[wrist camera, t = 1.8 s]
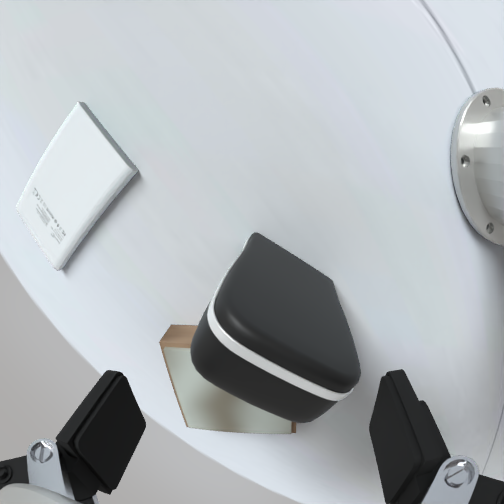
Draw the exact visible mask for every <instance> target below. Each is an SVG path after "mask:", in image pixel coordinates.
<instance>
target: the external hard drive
mask: <svg viewBox="0 0 504 504" xmlns="http://www.w3.org/2000/svg"><path fill="white" fill-rule="evenodd" d="M138 171H139V170H138V169H137V167H136V166H135V165H134V164H133V162H132V161H131V160H130V159H129V158H128V156H127V155H126V154H125V153H124V152H123V150H122V149H121V148H120V147H119V145H118V144H117V143H116V142H115V140H114V139H113V138H112V137H111V135H110V134H109V133H108V132H107V130H106V129H105V128H104V127H103V125H102V124H101V123H100V122H99V120H98V119H97V118H96V117H95V115H94V114H93V113H92V111H91V110H90V109H89V108H88V106H87V105H86V104H85V103H84V102H78V103H77V104H76V106H75V107H74V108H73V110H72V111H71V112H70V114H69V115H68V117H67V118H66V120H65V121H64V122H63V124H62V125H61V127H60V128H59V130H58V131H57V133H56V135H55V136H54V138H53V139H52V141H51V142H50V144H49V146H48V147H47V149H46V151H45V152H44V154H43V156H42V157H41V159H40V161H39V163H38V165H37V166H36V168H35V170H34V172H33V174H32V176H31V177H30V179H29V181H28V183H27V185H26V187H25V189H24V191H23V193H22V196H21V198H20V200H19V202H18V204H17V206H16V210H17V212H18V214H19V216H20V218H21V219H22V221H23V222H24V224H25V226H26V227H27V229H28V230H29V232H30V234H31V235H32V237H33V238H34V240H35V241H36V243H37V244H38V246H39V247H40V249H41V250H42V252H43V253H44V255H45V256H46V258H47V259H48V261H49V262H50V263H51V265H52V266H53V267H54V268H55V269H56V270H57V271H59V270H60V269H62V268H63V267H64V266H65V264H66V263H67V261H68V260H69V259H70V257H71V256H72V254H73V253H74V251H75V250H76V248H77V247H78V246H79V244H80V243H81V242H82V240H83V239H84V237H85V236H86V235H87V233H88V232H89V231H90V229H91V228H92V227H93V225H94V224H95V223H96V221H97V220H98V219H99V217H100V216H101V215H102V214H103V212H104V211H105V210H106V209H107V207H108V206H109V205H110V204H111V202H112V201H113V200H114V199H115V198H116V196H117V195H118V194H119V193H120V191H121V190H122V189H123V188H124V187H125V186H126V184H127V183H128V182H129V181H130V180H131V179H132V177H133V176H134V175H135V174H136V173H137V172H138Z"/></svg>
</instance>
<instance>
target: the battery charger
mask: <svg viewBox="0 0 504 504" xmlns="http://www.w3.org/2000/svg"><path fill="white" fill-rule="evenodd" d="M190 354H191V361H192V363H193V365H194V367H195V369H196V371H197V372H198V373H199V374H200V375H201V376H202V377H203V378H204V379H206V380H207V381H209V382H210V383H212V384H213V385H215V386H217V387H218V388H220V389H222V390H224V391H226V392H228V393H230V394H231V395H233V396H235V397H237V398H239V399H241V400H243V401H245V402H247V403H249V404H251V405H253V406H255V407H258V408H260V409H262V410H264V411H267V412H269V413H271V414H274V415H276V416H279V417H281V418H284V419H286V420H289V421H292V422H296V423H306V422H311V421H313V420H314V419H316V418H318V417H319V416H321V415H322V414H324V413H325V412H326V411H327V410H329V409H330V408H331V407H332V406H333V405H334V404H336V403H337V402H338V401H339V400H343V399H345V398H346V397H347V396H348V395H349V394H350V393H351V392H352V391H353V389H354V386H355V385H356V384H357V383H358V381H359V378H360V375H361V370H360V364H359V360H358V356H357V352H356V348H355V345H354V341H353V338H352V335H351V332H350V329H349V326H348V323H347V321H346V318H345V315H344V313H343V310H342V308H341V305H340V303H339V300H338V297H337V294H336V291H335V288H334V284H333V281H332V280H331V279H330V278H328V277H327V276H325V275H324V274H322V273H321V272H319V271H318V270H316V269H315V268H313V267H312V266H310V265H308V264H307V263H305V262H304V261H302V260H301V259H299V258H298V257H296V256H294V255H293V254H291V253H290V252H288V251H287V250H285V249H283V248H282V247H280V246H279V245H277V244H275V243H274V242H272V241H271V240H269V239H267V238H266V237H264V236H262V235H261V234H259V233H253V234H252V235H251V237H250V238H248V239H247V240H246V242H245V244H244V246H243V249H242V251H241V253H240V254H239V255H238V257H237V258H236V259H235V260H234V262H233V263H232V265H231V266H230V267H229V269H228V270H227V272H226V274H225V275H224V277H223V279H222V280H221V282H220V284H219V286H218V287H217V289H216V291H215V294H214V296H213V298H212V300H211V301H210V303H209V305H208V306H207V308H206V310H205V312H204V314H203V316H202V318H201V320H200V323H199V325H198V327H197V329H196V331H195V334H194V336H193V338H192V342H191V347H190Z"/></svg>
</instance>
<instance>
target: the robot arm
mask: <svg viewBox="0 0 504 504" xmlns="http://www.w3.org/2000/svg"><path fill="white" fill-rule="evenodd" d="M451 168H452V175H453V182H454V186H455V190H456V194H457V198H458V200H459V203H460V205H461V208H462V210H463V212H464V214H465V216H466V218H467V219H468V221H469V223H470V224H471V225H472V226H473V228H474V229H475V230H476V231H477V232H478V233H479V234H480V235H481V236H483V237H484V238H485V239H487V240H489V241H491V242H493V243H495V244H497V245H501V246H504V89H501V88H489V89H485V90H482V91H479V92H477V93H475V94H474V95H472V96H471V97H470V98H469V99H468V100H467V101H466V102H465V104H464V105H463V106H462V108H461V110H460V112H459V114H458V116H457V118H456V122H455V126H454V129H453V134H452V142H451ZM145 428H146V422H145V419H144V417H143V415H142V413H141V411H140V408H139V406H138V404H137V402H136V399H135V397H134V395H133V392H132V390H131V387H130V385H129V382H128V380H127V378H126V377H125V376H124V375H123V373H121V372H118V371H111V370H107V371H106V372H105V373H104V374H103V376H102V377H101V378H100V379H99V381H98V382H97V383H96V385H95V386H94V387H93V389H92V390H91V391H90V392H89V394H88V395H87V396H86V398H85V399H84V400H83V402H82V403H81V405H80V406H79V407H78V408H77V410H76V411H75V412H74V414H73V415H72V416H71V418H70V419H69V420H68V422H67V423H66V425H65V426H64V427H63V429H62V430H61V431H60V433H59V434H58V435H57V437H56V440H57V442H56V443H54V442H53V441H51V440H50V439H45V438H44V439H39V440H36V441H35V442H33V443H32V444H31V445H30V446H29V448H28V450H27V455H26V456H22V457H19V458H14V459H10V460H5V461H1V462H0V504H99V502H98V499H97V496H96V492H97V490H99V491H101V492H104V493H107V494H111V492H112V490H114V489H116V488H117V486H118V484H119V482H120V480H121V478H122V476H123V474H124V472H125V469H126V467H127V465H128V463H129V461H130V459H131V457H132V455H133V453H134V451H135V449H136V446H137V445H138V443H139V440H140V438H141V436H142V434H143V432H144V430H145ZM369 431H370V436H371V440H372V444H373V448H374V452H375V456H376V461H377V465H378V470H379V474H380V479H381V483H382V488H383V493H384V498H385V502H386V504H504V482H503V481H499V480H496V479H493V478H489V477H486V476H483V475H480V474H479V469H478V466H477V464H476V462H475V461H474V460H472V459H471V458H469V457H467V456H454V457H451V456H450V454H449V452H448V449H447V447H446V445H445V442H444V440H443V438H442V436H441V433H440V431H439V429H438V427H437V425H436V423H435V420H434V418H433V416H432V414H431V412H430V410H429V408H428V406H427V404H426V403H425V402H424V401H419V400H418V398H417V396H416V394H415V392H414V390H413V388H412V386H411V384H410V382H409V380H408V378H407V376H406V374H405V372H404V370H402V369H401V370H395V371H389V372H387V373H386V376H383V377H382V378H381V381H380V386H379V390H378V394H377V398H376V402H375V406H374V410H373V414H372V418H371V421H370V426H369Z"/></svg>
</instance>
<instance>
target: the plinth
mask: <svg viewBox="0 0 504 504" xmlns="http://www.w3.org/2000/svg"><path fill="white" fill-rule="evenodd" d="M197 327H198V326H192V325H171V326H170V327H169V329H168V330H167V332H166V333H165V334H164V336H163V337H162V339H161V340H160V342H159V343H160V346H161V350H162V353H163V357H164V360H165V363H166V367H167V370H168V373H169V377H170V380H171V383H172V386H173V389H174V392H175V395H176V398H177V401H178V404H179V407H180V410H181V412H182V415H183V418H184V421H185V423H186V426H187V427H189V428H195V429H203V430H213V431H224V432H237V433H259V434H291V433H296V422H292V421H289V420H286V419H284V418H281V417H279V416H276V415H274V414H271V413H269V412H267V411H264V410H262V409H260V408H258V407H255V406H253V405H251V404H249V403H247V402H245V401H243V400H241V399H239V398H237V397H235V396H233V395H231V394H230V393H228V392H226V391H224V390H222V389H220V388H218V387H217V386H215V385H213V384H212V383H210V382H209V381H207V380H206V379H204V378H203V377H202V376H201V375H200V374H199V373H198V372H197V371H196V369H195V367H194V365H193V363H192V361H191V354H190V347H191V342H192V338H193V336H194V334H195V331H196V329H197Z"/></svg>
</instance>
